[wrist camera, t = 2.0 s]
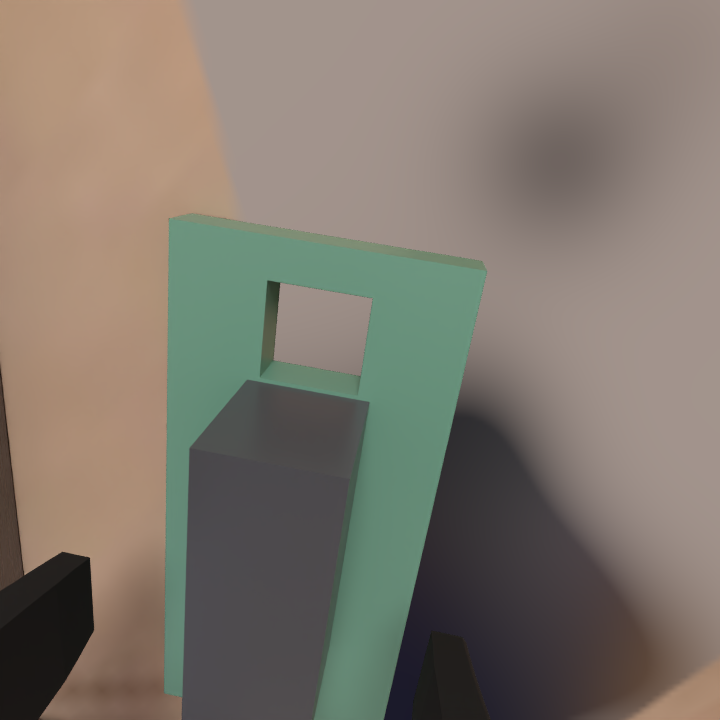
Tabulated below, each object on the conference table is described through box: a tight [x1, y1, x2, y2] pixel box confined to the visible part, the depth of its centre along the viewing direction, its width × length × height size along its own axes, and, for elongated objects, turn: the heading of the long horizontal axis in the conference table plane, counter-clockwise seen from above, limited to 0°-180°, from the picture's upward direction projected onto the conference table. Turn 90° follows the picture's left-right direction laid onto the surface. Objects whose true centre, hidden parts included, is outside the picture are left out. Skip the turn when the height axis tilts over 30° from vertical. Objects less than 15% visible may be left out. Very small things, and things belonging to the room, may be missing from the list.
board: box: [164, 214, 487, 720], centre depth 13 cm, size 15×7×4 cm, turn 172°
